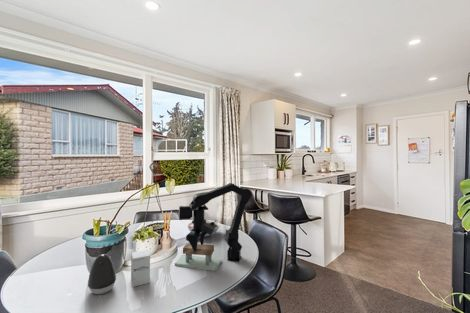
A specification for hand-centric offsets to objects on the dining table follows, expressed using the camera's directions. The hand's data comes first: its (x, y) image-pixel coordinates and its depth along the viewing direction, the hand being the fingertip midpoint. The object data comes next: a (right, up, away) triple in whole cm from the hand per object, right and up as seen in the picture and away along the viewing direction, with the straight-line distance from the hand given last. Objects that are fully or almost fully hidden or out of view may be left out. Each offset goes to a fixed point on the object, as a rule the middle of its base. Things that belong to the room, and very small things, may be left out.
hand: (198, 247), depth 122 cm
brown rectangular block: (0, -2, 0) cm, 2 cm away
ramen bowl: (-3, -7, +41) cm, 42 cm away
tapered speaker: (-37, -9, -24) cm, 45 cm away
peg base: (0, -8, 0) cm, 8 cm away
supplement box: (-24, -9, -17) cm, 30 cm away
